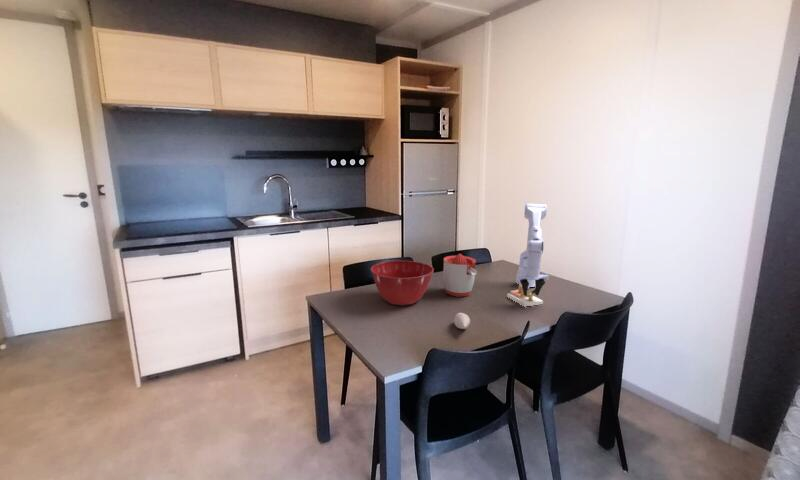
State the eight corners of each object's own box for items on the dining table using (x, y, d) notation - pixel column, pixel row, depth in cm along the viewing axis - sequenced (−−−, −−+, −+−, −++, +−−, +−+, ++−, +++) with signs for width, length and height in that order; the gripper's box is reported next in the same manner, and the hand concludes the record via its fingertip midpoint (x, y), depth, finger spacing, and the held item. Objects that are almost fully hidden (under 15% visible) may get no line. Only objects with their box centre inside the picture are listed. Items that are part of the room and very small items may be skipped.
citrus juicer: (462, 302, 177) (465, 260, 173) (435, 292, 190) (436, 252, 185) (483, 294, 187) (486, 255, 183) (456, 285, 200) (458, 248, 195)
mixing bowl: (357, 299, 177) (357, 267, 174) (400, 285, 198) (400, 256, 195) (403, 318, 159) (404, 282, 155) (444, 300, 179) (446, 268, 176)
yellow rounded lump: (518, 298, 177) (518, 288, 176) (524, 295, 181) (525, 286, 180) (529, 302, 173) (530, 292, 172) (535, 299, 177) (536, 289, 176)
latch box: (507, 297, 184) (507, 293, 184) (524, 295, 188) (524, 291, 187) (524, 307, 172) (524, 303, 172) (542, 305, 176) (543, 300, 175)
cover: (510, 293, 184) (510, 283, 183) (522, 291, 187) (523, 282, 186) (519, 298, 178) (520, 288, 177) (531, 296, 180) (532, 287, 179)
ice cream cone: (463, 338, 141) (458, 327, 156) (476, 328, 141) (470, 318, 156) (453, 325, 141) (449, 315, 156) (466, 315, 141) (461, 306, 156)
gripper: (521, 269, 168) (519, 298, 171) (553, 268, 170) (550, 297, 173) (515, 264, 175) (512, 292, 178) (545, 264, 176) (542, 292, 179)
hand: (530, 294), depth 176 cm, fingers closed on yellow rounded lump, 5 cm apart
